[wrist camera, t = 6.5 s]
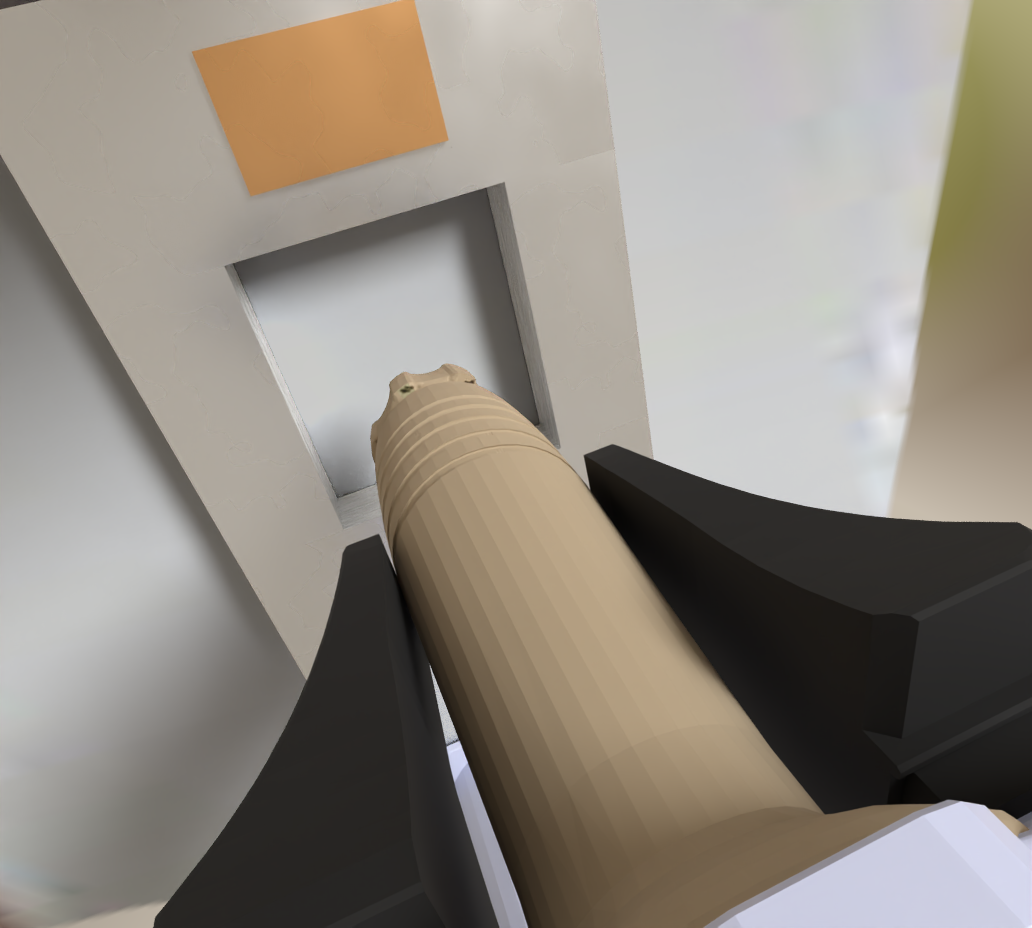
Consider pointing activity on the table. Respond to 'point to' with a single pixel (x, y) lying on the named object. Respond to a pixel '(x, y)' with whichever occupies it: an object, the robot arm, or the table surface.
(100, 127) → the rack plate
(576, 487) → the handle
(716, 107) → the table surface
